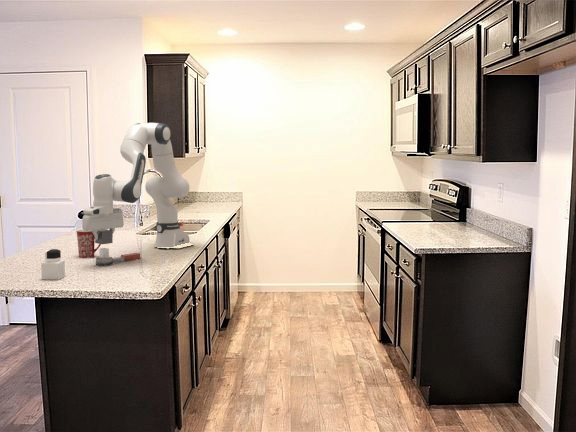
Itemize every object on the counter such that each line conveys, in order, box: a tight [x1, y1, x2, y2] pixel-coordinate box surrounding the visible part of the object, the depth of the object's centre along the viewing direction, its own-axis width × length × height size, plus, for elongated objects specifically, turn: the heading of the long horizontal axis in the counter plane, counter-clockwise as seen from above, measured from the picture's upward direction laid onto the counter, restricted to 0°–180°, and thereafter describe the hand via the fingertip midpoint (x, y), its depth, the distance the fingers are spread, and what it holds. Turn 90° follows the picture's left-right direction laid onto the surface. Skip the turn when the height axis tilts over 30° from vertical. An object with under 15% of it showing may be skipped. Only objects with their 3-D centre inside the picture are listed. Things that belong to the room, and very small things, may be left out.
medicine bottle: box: [40, 248, 66, 281], centre depth 234 cm, size 7×7×12 cm
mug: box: [75, 228, 102, 259], centre depth 280 cm, size 13×9×14 cm
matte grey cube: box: [95, 229, 113, 245], centre depth 262 cm, size 6×6×6 cm
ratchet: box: [95, 247, 141, 267], centre depth 269 cm, size 23×8×8 cm, turn 142°
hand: (103, 238), depth 262 cm, fingers closed on matte grey cube, 6 cm apart
